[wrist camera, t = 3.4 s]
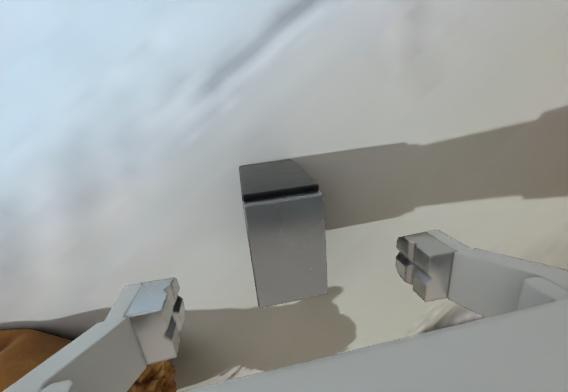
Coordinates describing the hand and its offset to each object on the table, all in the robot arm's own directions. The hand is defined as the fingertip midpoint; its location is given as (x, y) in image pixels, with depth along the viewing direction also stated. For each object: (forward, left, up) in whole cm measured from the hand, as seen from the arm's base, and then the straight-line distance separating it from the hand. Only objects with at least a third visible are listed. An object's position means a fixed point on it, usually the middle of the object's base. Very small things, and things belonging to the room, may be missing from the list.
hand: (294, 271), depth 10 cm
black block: (0, 0, -7) cm, 7 cm away
